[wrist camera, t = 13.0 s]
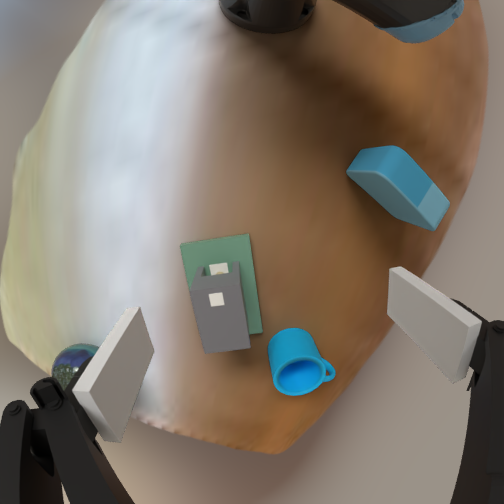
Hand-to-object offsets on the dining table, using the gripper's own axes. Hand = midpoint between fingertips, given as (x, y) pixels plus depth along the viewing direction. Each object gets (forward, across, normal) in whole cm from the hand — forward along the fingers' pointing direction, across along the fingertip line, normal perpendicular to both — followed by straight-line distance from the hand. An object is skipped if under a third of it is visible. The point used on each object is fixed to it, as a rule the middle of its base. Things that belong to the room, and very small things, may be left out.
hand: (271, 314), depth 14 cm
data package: (+29, +21, +3) cm, 36 cm away
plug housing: (+28, -5, -10) cm, 30 cm away
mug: (+29, +6, -24) cm, 38 cm away
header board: (+29, -5, -10) cm, 31 cm away
